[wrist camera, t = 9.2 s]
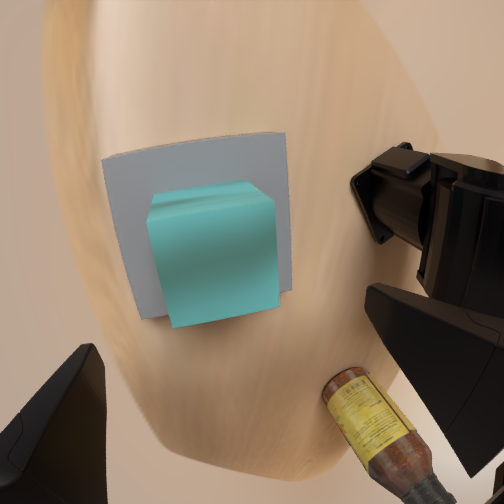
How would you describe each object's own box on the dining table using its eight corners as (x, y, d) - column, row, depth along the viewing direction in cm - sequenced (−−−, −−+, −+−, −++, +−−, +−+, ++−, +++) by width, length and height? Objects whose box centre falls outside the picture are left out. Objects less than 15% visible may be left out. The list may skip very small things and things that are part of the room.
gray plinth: (277, 270, 23) (292, 290, 20) (143, 295, 21) (141, 319, 18) (269, 131, 18) (285, 133, 16) (112, 155, 16) (101, 160, 14)
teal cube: (252, 261, 18) (280, 306, 14) (170, 277, 17) (172, 328, 13) (245, 179, 16) (274, 200, 12) (153, 194, 15) (146, 222, 11)
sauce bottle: (310, 402, 31) (389, 546, 13) (337, 363, 29) (441, 516, 11) (352, 400, 33) (431, 520, 15) (378, 363, 31) (476, 488, 14)
